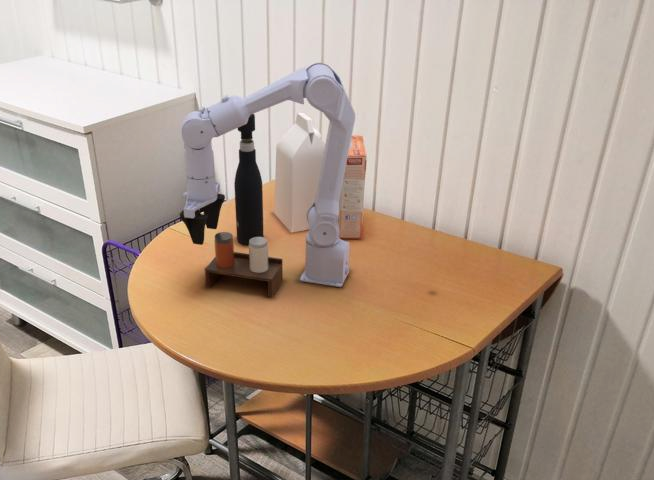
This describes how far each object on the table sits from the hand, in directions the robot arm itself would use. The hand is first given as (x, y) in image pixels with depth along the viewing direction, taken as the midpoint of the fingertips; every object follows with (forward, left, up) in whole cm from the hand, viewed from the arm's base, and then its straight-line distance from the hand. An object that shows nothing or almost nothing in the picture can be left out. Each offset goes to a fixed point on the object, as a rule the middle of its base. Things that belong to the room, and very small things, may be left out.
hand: (205, 235), depth 157 cm
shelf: (-9, 0, -10) cm, 13 cm away
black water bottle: (-3, -20, -11) cm, 23 cm away
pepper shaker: (-4, 0, -6) cm, 7 cm away
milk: (-12, -36, -11) cm, 39 cm away
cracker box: (-24, -34, -11) cm, 43 cm away
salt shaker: (-12, 0, -6) cm, 13 cm away
